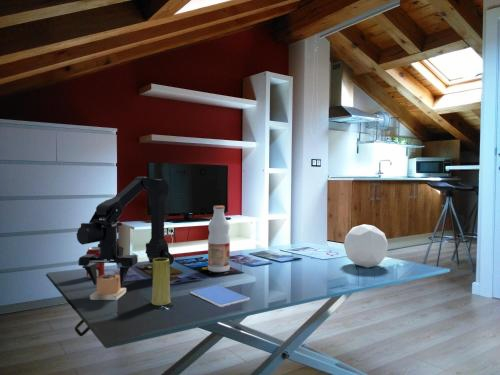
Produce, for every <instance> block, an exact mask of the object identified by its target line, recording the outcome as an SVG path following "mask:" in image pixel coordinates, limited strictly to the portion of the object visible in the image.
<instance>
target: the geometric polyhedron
mask: <svg viewBox="0 0 500 375" xmlns="http://www.w3.org/2000/svg"><path fill="white" fill-rule="evenodd" d="M344 238H345V239H344V243H343V247H344V250H345V254H346V258H347V259H349V261H351V262H352V263H353V264H355V265H357V266H360V267H364V268H367V269H368V268H371V267H375V266H379V265H380V264H381V263H382V262H383V261H384V260H385V258H386V257H387V256H388V248H389V242H388V239H387V237H386V234H385V232H383V231H381V229H379V228H378V227H376V226H375V225H371V224H365V223H364V224H360V225H357V226H354V227H353V226H352V228H351V229H350V230H349V231H348V232H347V234H346V235H345V237H344Z"/></svg>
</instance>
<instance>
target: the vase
mask: <svg viewBox="0 0 500 375" xmlns="http://www.w3.org/2000/svg"><path fill="white" fill-rule="evenodd" d="M152 267H153V280H152V290H151V291H152V294H151V295H152V296H151V304H152V305H154V306H158V307H159V306H160V305H161V306H166V305H169V304H171V302H172V301H171V285H170V284H171V283H170V282H171V281H170V280H171V277H169V259H168V258H155V259H153V263H152Z"/></svg>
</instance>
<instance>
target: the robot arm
mask: <svg viewBox="0 0 500 375" xmlns="http://www.w3.org/2000/svg"><path fill="white" fill-rule="evenodd" d="M144 190H145V191H146V195H147V198H148V199H149V201H150V225H151V226H150V228H151V229H150V231H151V232H150V236H151V237H150V240H149V241H148V242H146V243H145V252H144V253H145V254H146V257H147V258H148V259H147V260H148V261H149V264H153V259H155V258H168V259H169V277H170V278H171V277H172V274H171V265H172V264H174V262H175V257H174V256H173V255H172V254H171V253H170V251H169V244H168V242H167V240H166V239H165V201H166V199H167V197H168V195H169V183H168V181H167V180H165V179H163V178H161V179H160V178H158V179H157V178H155V179H154V178H150V177H147V176H137V177H135V178H134V180H132V181H131V182H130V183H129V184H128V185H127V186H125V187H124V189H123V188H122V190H121V191H120V192H118V193H117V194H116V195H115V196H113V197H112V198H109V199H106V200H104V201H102V202H101V203H98V204H97V206H96V207H95V212H94V213H93V215H92V217H91V218H90V220H89V222H81V223H80V227H79V228H78V230H77V232H76V240H77V241H78V243H79V244H81V245H89V244H94V243H98V244H97V247H99V256H98V257H97V256H96V254H84V255H82V256H80V257H79V258H78V264H77V265H78V266H81V267H82V269H85V271H87V272H88V274H89V276H90V277H91V281H92V283H93V285H94V286H97V271H96V268H97V264H98V263H104V264H120V265H121V266H120V267H119V276H120V287H121V286H123V285H124V283H125V279H126V276H127V274H128V273H129V272H128V271H129V270H130V269H131V268H132V267H133V266H135V265H136V264H138V261H139V260H138V256H137V255H136V254H126V255H124V247H123V246H120V245H119V244H120V243H119V241H118V227H121V226H122V225H123V224H122V222H121V221H119V220H118V219H119V218H120V217H121V216H122V215H123V212H124V209H125V207H126V206H127V205H128V204H129V203H130V202H132V200H133V199H135V197H137V196H138V195H139V194H140V193H141V192H142V191H144ZM123 255H124V256H123ZM103 259H104V260H103ZM150 269H151V271H150V272H151V274H150V275H151V276H150V277H151V278H150V279H151V281H153V266H152V267H151V268H150ZM87 272H86V273H87Z"/></svg>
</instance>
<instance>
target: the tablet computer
mask: <svg viewBox="0 0 500 375" xmlns="http://www.w3.org/2000/svg"><path fill="white" fill-rule="evenodd" d="M189 293H190V294H191V295H194V296H196V297H198V298H199V299H202V300H204V301H206V302H209V303H210V304H213V305H214V306H216V307H219V308H224V307H228V306H232V305H236V304H239V303H244V302H247V301H250V300H251V299H250V297H249V296H245V295H244V294H240V293H238V292H237V291H234V290H231V289H228V288H226V287H223V286H220V285H213V286H208V287H203V288H198V289H194V290H191V291H190V292H189Z"/></svg>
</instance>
